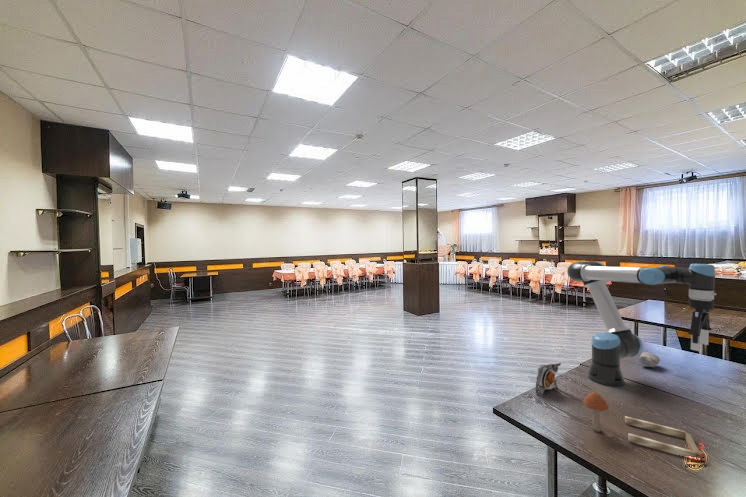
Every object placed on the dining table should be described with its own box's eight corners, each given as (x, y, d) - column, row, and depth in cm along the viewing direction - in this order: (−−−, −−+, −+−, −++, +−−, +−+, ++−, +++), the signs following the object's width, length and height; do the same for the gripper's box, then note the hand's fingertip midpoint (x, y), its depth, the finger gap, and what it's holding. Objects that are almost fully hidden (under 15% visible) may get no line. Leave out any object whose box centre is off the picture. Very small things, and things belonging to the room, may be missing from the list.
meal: (544, 398, 140) (544, 370, 140) (535, 394, 144) (535, 367, 143) (561, 389, 148) (561, 363, 148) (552, 386, 152) (552, 360, 151)
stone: (637, 365, 173) (639, 353, 172) (641, 360, 181) (642, 349, 180) (656, 371, 167) (658, 359, 166) (659, 365, 175) (661, 354, 174)
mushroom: (583, 421, 122) (584, 385, 121) (608, 429, 116) (609, 391, 116) (582, 431, 115) (582, 392, 115) (608, 439, 110) (608, 399, 110)
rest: (628, 443, 109) (628, 434, 108) (624, 423, 120) (624, 415, 120) (700, 464, 98) (701, 454, 98) (689, 440, 110) (689, 432, 110)
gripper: (706, 304, 122) (704, 356, 123) (720, 297, 135) (719, 344, 136) (680, 301, 128) (679, 350, 129) (696, 294, 141) (695, 339, 142)
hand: (699, 347), depth 132 cm, fingers open, 13 cm apart
